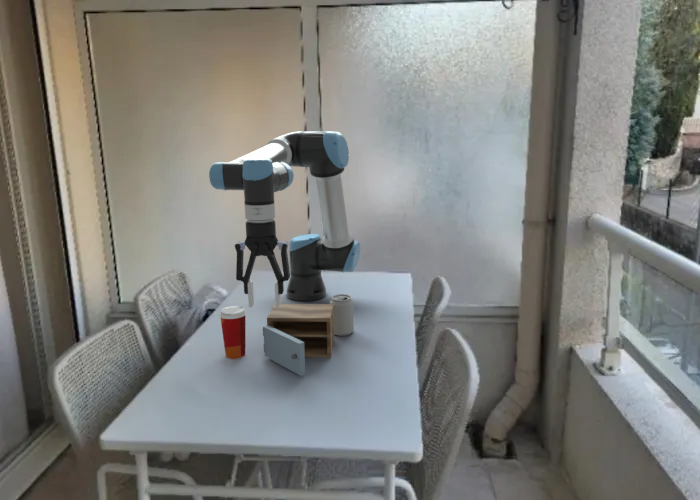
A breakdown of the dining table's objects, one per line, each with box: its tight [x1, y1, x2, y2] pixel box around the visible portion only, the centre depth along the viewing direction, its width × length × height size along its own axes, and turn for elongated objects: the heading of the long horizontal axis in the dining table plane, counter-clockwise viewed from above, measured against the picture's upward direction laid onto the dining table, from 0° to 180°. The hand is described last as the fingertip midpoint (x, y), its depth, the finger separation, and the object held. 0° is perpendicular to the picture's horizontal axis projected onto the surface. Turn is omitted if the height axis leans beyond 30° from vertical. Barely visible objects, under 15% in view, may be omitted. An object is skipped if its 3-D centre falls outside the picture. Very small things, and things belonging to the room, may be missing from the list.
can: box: [329, 293, 355, 337], centre depth 180 cm, size 8×8×12 cm
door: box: [262, 324, 306, 376], centre depth 156 cm, size 3×18×9 cm, turn 42°
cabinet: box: [266, 303, 335, 358], centre depth 168 cm, size 12×18×12 cm, turn 87°
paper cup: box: [218, 305, 247, 360], centre depth 164 cm, size 8×8×14 cm
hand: (264, 305), depth 150 cm, fingers open, 6 cm apart
